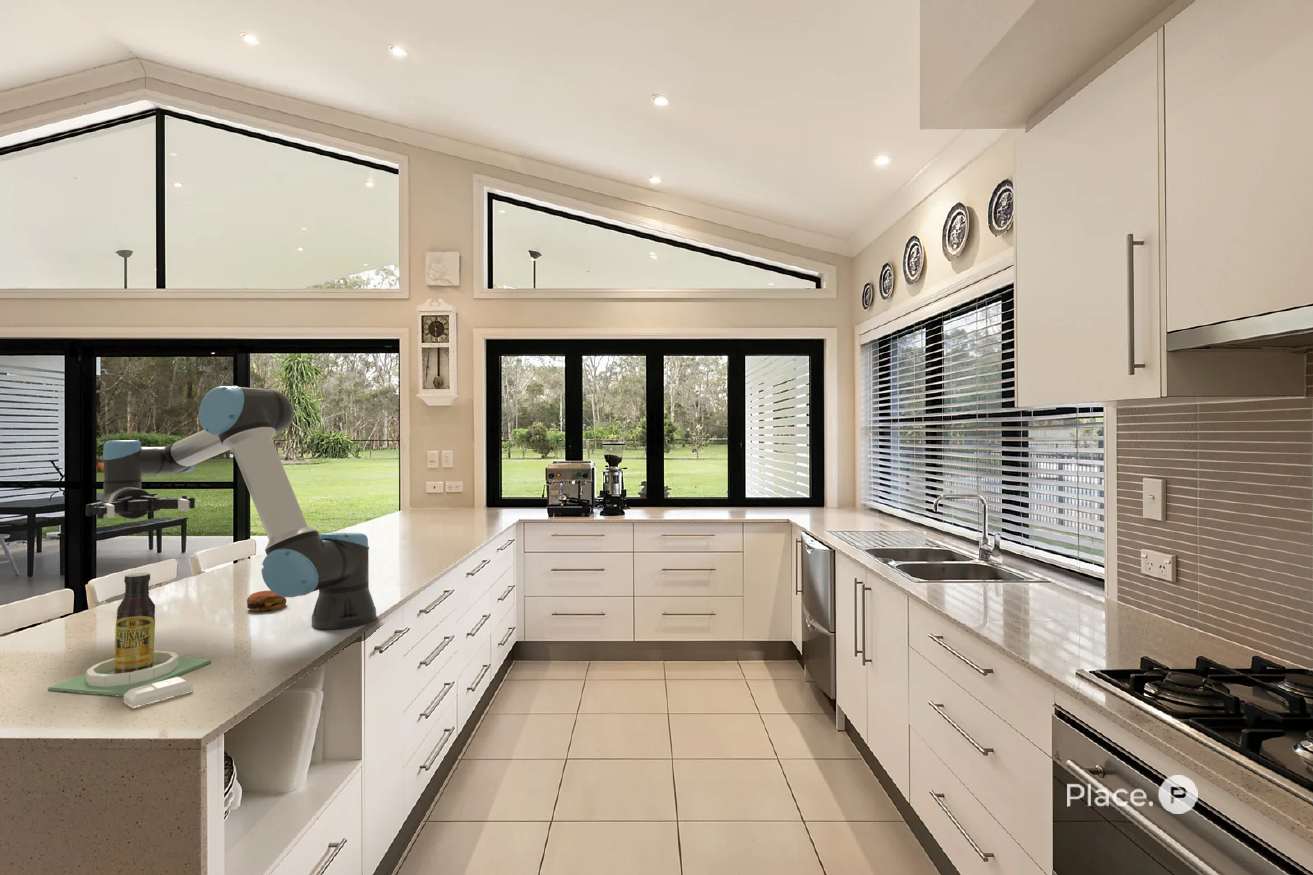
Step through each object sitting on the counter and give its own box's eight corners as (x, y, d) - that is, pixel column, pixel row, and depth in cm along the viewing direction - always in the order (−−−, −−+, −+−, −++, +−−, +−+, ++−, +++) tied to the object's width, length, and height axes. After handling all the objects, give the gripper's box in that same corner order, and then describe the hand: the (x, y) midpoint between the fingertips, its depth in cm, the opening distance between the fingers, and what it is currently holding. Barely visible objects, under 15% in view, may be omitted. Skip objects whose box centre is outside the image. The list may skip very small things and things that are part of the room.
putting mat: (210, 662, 136) (210, 650, 136) (125, 697, 118) (125, 683, 118) (140, 657, 139) (140, 645, 139) (48, 690, 121) (48, 676, 121)
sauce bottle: (110, 680, 124) (109, 579, 124) (118, 670, 130) (117, 573, 130) (152, 674, 128) (151, 575, 127) (158, 664, 133) (157, 569, 133)
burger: (268, 602, 185) (268, 586, 185) (293, 605, 183) (293, 588, 182) (237, 612, 176) (237, 595, 176) (263, 614, 173) (263, 597, 173)
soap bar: (192, 694, 120) (192, 680, 120) (132, 711, 113) (132, 696, 113) (182, 688, 123) (182, 674, 123) (123, 704, 116) (123, 690, 116)
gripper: (191, 512, 168) (215, 519, 154) (63, 523, 149) (77, 531, 135) (191, 484, 168) (215, 488, 154) (62, 491, 149) (77, 496, 135)
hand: (151, 508), depth 145 cm, fingers open, 13 cm apart
